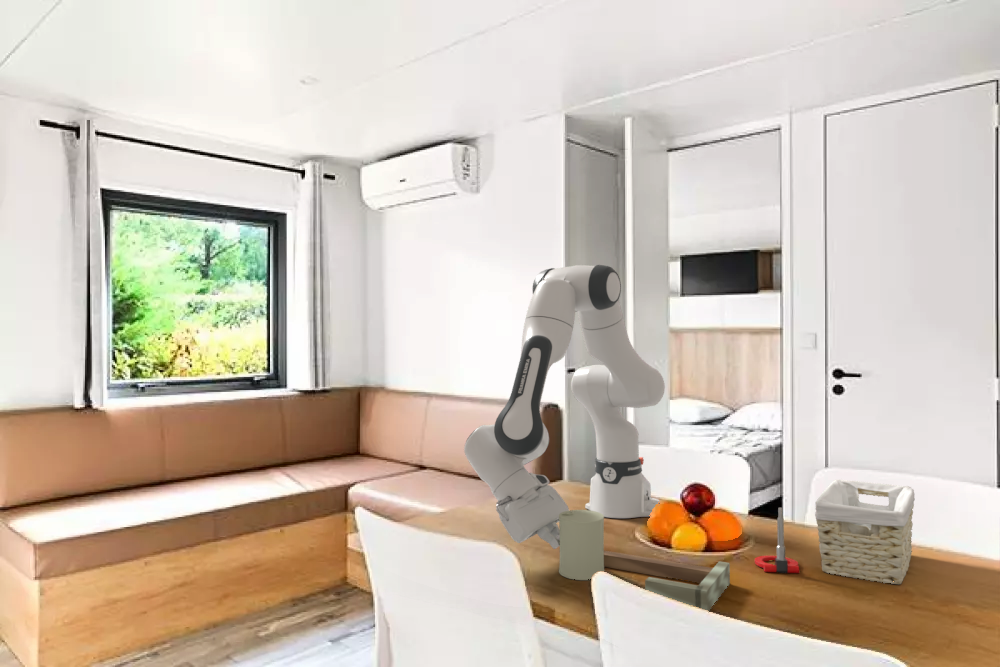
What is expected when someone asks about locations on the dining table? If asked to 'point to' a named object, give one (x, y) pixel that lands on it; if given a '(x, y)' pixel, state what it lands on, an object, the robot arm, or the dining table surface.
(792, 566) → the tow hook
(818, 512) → the storage basket
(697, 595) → the rail stop
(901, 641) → the dining table surface
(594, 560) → the can
